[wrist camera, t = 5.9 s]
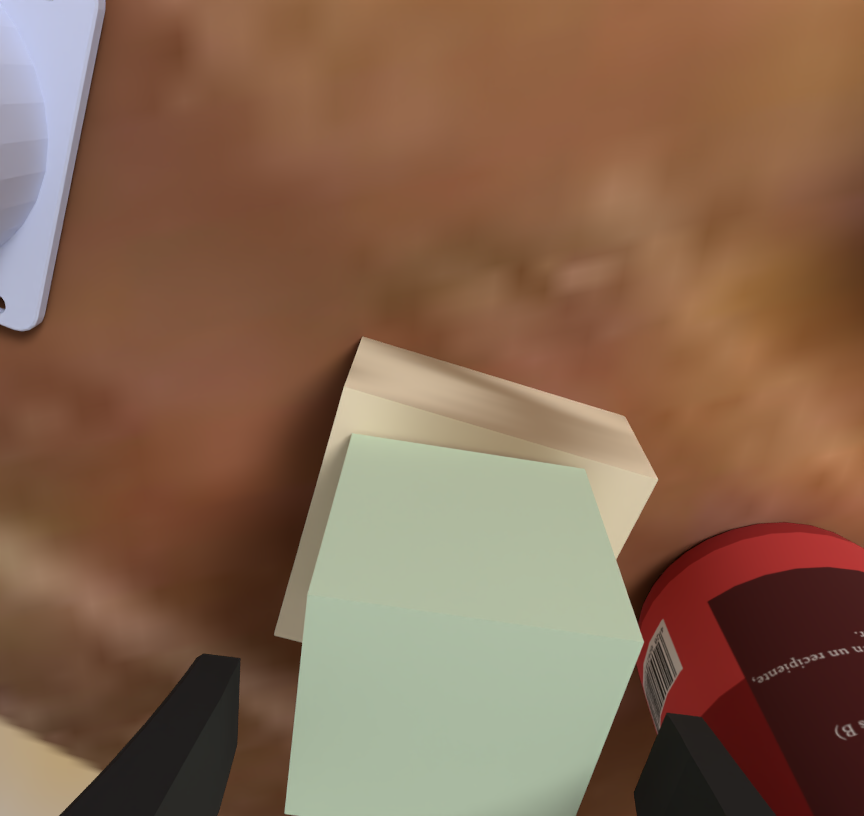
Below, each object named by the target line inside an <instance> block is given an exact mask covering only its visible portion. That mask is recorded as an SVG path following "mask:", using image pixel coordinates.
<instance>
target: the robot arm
mask: <svg viewBox="0 0 864 816" xmlns="http://www.w3.org/2000/svg"><path fill="white" fill-rule="evenodd" d="M104 14H105V0H0V296H1V297H2V299H3V300H4V302H5V306H6V309H2V308H0V325H2V326H5V327H8V328H10V329H13V330H17V331H27V330H30V329H32V328H34V327H36V326H37V325H38V324H40V323H41V322H42V320H43V318H44V316H45V311H46V306H47V301H48V296H49V291H50V286H51V281H52V276H53V271H54V266H55V261H56V256H57V251H58V246H59V241H60V236H61V231H62V226H63V221H64V216H65V211H66V206H67V200H68V195H69V190H70V185H71V180H72V175H73V170H74V165H75V160H76V155H77V150H78V145H79V140H80V135H81V130H82V125H83V120H84V115H85V110H86V105H87V100H88V95H89V90H90V85H91V80H92V75H93V70H94V65H95V60H96V55H97V50H98V44H99V39H100V34H101V29H102V24H103V19H104ZM239 683H240V658H234V657H226V656H218V655H210V654H202V655H201V656H199V657H197V658H196V660H195V661H194V662H193V664H192V665H191V666H190V668H189V669H188V671H187V672H186V673H185V675H184V676H183V677H182V678H181V680H180V681H179V682H178V684H177V685H176V686H175V687H174V689H173V690H172V691H171V693H170V694H169V695H168V696H167V698H166V699H165V700H164V701H163V702H162V704H161V705H160V706H159V707H158V708H157V710H156V711H155V712H154V713H153V714H152V716H151V717H150V718H149V719H148V720H147V722H146V723H145V724H144V725H143V726H142V727H141V729H140V730H139V731H138V732H137V733H136V734H135V735H134V737H133V738H132V739H131V740H130V741H129V742H128V743H127V744H126V746H125V747H124V748H123V749H122V750H121V751H120V752H119V753H118V755H117V756H116V757H115V758H114V759H113V760H112V761H111V762H110V764H109V765H108V766H107V767H106V768H105V769H104V770H103V771H102V772H101V773H100V774H99V775H98V776H97V777H96V778H95V779H94V780H93V782H92V783H91V784H90V785H89V786H88V787H87V788H86V789H85V790H84V791H83V792H82V793H81V794H80V795H79V796H78V797H77V798H76V799H75V800H74V801H73V802H72V803H71V804H70V805H69V806H68V807H67V808H66V809H65V811H63V812H62V814H60V815H59V816H217V815H218V812H219V809H220V806H221V802H222V798H223V795H224V791H225V788H226V784H227V780H228V777H229V773H230V769H231V766H232V762H233V758H234V754H235V751H236V747H237V736H238V709H239ZM634 798H635V805H636V812H637V816H776V814H775V813H774V812H773V811H772V809H771V808H770V807H769V805H768V804H767V803H766V801H765V800H764V799H763V798H762V796H761V795H760V794H759V792H758V791H757V790H756V788H755V787H754V786H753V784H752V783H751V782H750V780H749V779H748V778H747V776H746V775H745V774H744V772H743V771H742V770H741V768H740V767H739V766H738V764H737V763H736V762H735V760H734V759H733V758H732V756H731V755H730V754H729V752H728V751H727V750H726V748H725V747H724V746H723V744H722V743H721V742H720V740H719V739H718V738H717V736H716V735H715V734H714V732H713V731H712V730H711V728H710V727H709V726H708V724H707V723H706V722H705V721H704V719H703V718H702V717H698V716H690V715H683V714H675V713H666V715H665V717H664V720H663V722H662V725H661V727H660V730H659V732H658V735H657V737H656V739H655V742H654V744H653V747H652V749H651V752H650V754H649V757H648V759H647V762H646V764H645V766H644V769H643V771H642V774H641V776H640V779H639V781H638V784H637V786H636V788H635V791H634Z"/></svg>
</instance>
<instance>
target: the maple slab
mask: <svg viewBox="0 0 864 816" xmlns="http://www.w3.org/2000/svg"><path fill="white" fill-rule="evenodd" d="M352 433H354V434H361V435H367V436H374V437H381V438H387V439H394V440H400V441H407V442H413V443H420V444H426V445H433V446H439V447H446V448H452V449H459V450H465V451H472V452H478V453H485V454H491V455H498V456H504V457H511V458H517V459H524V460H530V461H537V462H544V463H550V464H557V465H563V466H570V467H576V468H583V469H585V471H586V474H587V477H588V479H589V482H590V485H591V488H592V491H593V494H594V497H595V500H596V503H597V506H598V509H599V512H600V515H601V518H602V520H603V523H604V526H605V529H606V532H607V535H608V538H609V541H610V544H611V547H612V550H613V553H614V556H615V559H617V557H618V555H619V553H620V551H621V549H622V547H623V545H624V543H625V542H626V540H627V538H628V536H629V534H630V532H631V530H632V528H633V526H634V525H635V523H636V521H637V519H638V517H639V515H640V513H641V511H642V509H643V508H644V506H645V504H646V502H647V500H648V498H649V496H650V494H651V492H652V490H653V489H654V487H655V485H656V483H657V481H658V478H657V476H656V474H655V473H654V471H653V469H652V467H651V465H650V463H649V461H648V459H647V457H646V455H645V454H644V452H643V450H642V448H641V446H640V444H639V442H638V440H637V438H636V437H635V435H634V433H633V431H632V429H631V427H630V425H629V423H628V421H627V420H626V418H625V416H622V415H619V414H615V413H612V412H609V411H606V410H602V409H599V408H596V407H592V406H589V405H586V404H583V403H579V402H576V401H573V400H569V399H566V398H563V397H560V396H556V395H553V394H550V393H546V392H543V391H540V390H537V389H533V388H530V387H527V386H523V385H520V384H517V383H514V382H510V381H507V380H504V379H500V378H497V377H494V376H491V375H487V374H484V373H481V372H477V371H474V370H471V369H468V368H464V367H461V366H458V365H455V364H451V363H448V362H445V361H441V360H438V359H435V358H432V357H428V356H425V355H422V354H418V353H415V352H412V351H409V350H405V349H402V348H399V347H395V346H392V345H389V344H386V343H382V342H379V341H376V340H372V339H369V338H366V337H363V336H362V339H361V342H360V344H359V347H358V350H357V353H356V355H355V358H354V361H353V363H352V366H351V369H350V372H349V374H348V377H347V380H346V382H345V385H344V388H343V392H342V395H341V399H340V402H339V406H338V410H337V413H336V417H335V420H334V424H333V427H332V431H331V434H330V438H329V441H328V445H327V448H326V452H325V455H324V459H323V463H322V466H321V470H320V473H319V477H318V480H317V484H316V487H315V491H314V494H313V498H312V501H311V505H310V508H309V512H308V516H307V519H306V523H305V526H304V530H303V533H302V537H301V540H300V544H299V547H298V551H297V554H296V558H295V562H294V565H293V569H292V572H291V576H290V579H289V583H288V586H287V590H286V593H285V597H284V600H283V604H282V607H281V611H280V615H279V618H278V622H277V625H276V629H275V632H274V636H278V637H282V638H286V639H290V640H294V641H298V642H302V641H303V632H304V622H305V613H306V603H307V594H308V591H309V587H310V583H311V580H312V576H313V573H314V569H315V565H316V562H317V558H318V555H319V551H320V547H321V544H322V540H323V537H324V533H325V529H326V526H327V522H328V519H329V515H330V511H331V508H332V504H333V501H334V497H335V493H336V490H337V486H338V483H339V479H340V475H341V472H342V468H343V465H344V461H345V457H346V454H347V450H348V447H349V443H350V439H351V436H352Z"/></svg>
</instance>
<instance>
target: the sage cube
mask: <svg viewBox="0 0 864 816" xmlns="http://www.w3.org/2000/svg"><path fill="white" fill-rule="evenodd" d="M643 644H644V641H643V638H642V635H641V632H640V629H639V626H638V623H637V620H636V617H635V614H634V611H633V608H632V605H631V603H630V600H629V597H628V594H627V591H626V588H625V585H624V582H623V579H622V576H621V573H620V570H619V567H618V564H617V562H616V559H615V556H614V553H613V550H612V547H611V544H610V541H609V538H608V535H607V532H606V529H605V526H604V523H603V520H602V518H601V515H600V512H599V509H598V506H597V503H596V500H595V497H594V494H593V491H592V488H591V485H590V482H589V479H588V477H587V474H586V471H585V469H583V468H576V467H570V466H563V465H557V464H550V463H544V462H537V461H530V460H524V459H517V458H511V457H504V456H498V455H491V454H485V453H478V452H472V451H465V450H459V449H452V448H446V447H439V446H433V445H426V444H420V443H413V442H407V441H400V440H394V439H387V438H381V437H374V436H367V435H361V434H354V433H352V436H351V439H350V443H349V447H348V450H347V454H346V457H345V461H344V465H343V468H342V472H341V475H340V479H339V483H338V486H337V490H336V493H335V497H334V501H333V504H332V508H331V511H330V515H329V519H328V522H327V526H326V529H325V533H324V537H323V540H322V544H321V547H320V551H319V555H318V558H317V562H316V565H315V569H314V573H313V576H312V580H311V583H310V587H309V591H308V594H307V603H306V613H305V622H304V632H303V641H302V651H301V661H300V670H299V680H298V689H297V699H296V708H295V718H294V727H293V737H292V747H291V756H290V766H289V775H288V785H287V794H286V804H285V813H284V814H290V815H298V816H576V814H577V811H578V809H579V806H580V804H581V801H582V799H583V796H584V794H585V791H586V789H587V786H588V783H589V781H590V778H591V776H592V773H593V771H594V768H595V766H596V763H597V761H598V758H599V756H600V753H601V750H602V748H603V745H604V743H605V740H606V738H607V735H608V733H609V730H610V728H611V725H612V723H613V720H614V717H615V715H616V712H617V710H618V707H619V705H620V702H621V700H622V697H623V695H624V692H625V690H626V687H627V684H628V682H629V679H630V677H631V674H632V672H633V669H634V667H635V664H636V662H637V659H638V656H639V654H640V651H641V649H642V646H643Z"/></svg>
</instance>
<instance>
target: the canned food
mask: <svg viewBox="0 0 864 816" xmlns="http://www.w3.org/2000/svg"><path fill="white" fill-rule="evenodd" d="M638 626H639V629H640V632H641V635H642V638H643V641H644V644H643V646H642V649H641V651H640V654H639V656H638V659H637V662H636V665H637V669H638V673H639V677H640V681H641V685H642V688H643V691H644V694H645V697H646V701H647V704H648V707H649V710H650V713H651V717H652V720H653V723H654V726H655V729H656V733H657V735H658V732H659V730H660V727H661V725H662V722H663V720H664V717H665V715H666V713H675V714H683V715H690V716H698V717H702V718H703V719H704V721H705V722H706V723H707V724H708V726H709V727H710V728H711V730H712V731H713V732H714V734H715V735H716V736H717V738H718V739H719V740H720V742H721V743H722V744H723V746H724V747H725V748H726V750H727V751H728V752H729V754H730V755H731V756H732V758H733V759H734V760H735V762H736V763H737V764H738V766H739V767H740V768H741V770H742V771H743V772H744V774H745V775H746V776H747V778H748V779H749V780H750V782H751V783H752V784H753V786H754V787H755V788H756V790H757V791H758V792H759V794H760V795H761V796H762V798H763V799H764V800H765V801H766V803H767V804H768V805H769V807H770V808H771V809H772V811H773V812H774V813H775V814H776V816H864V548H862V547H860V546H858V545H856V544H855V543H853V542H851V541H849V540H847V539H845V538H843V537H841V536H840V535H838V534H836V533H834V532H831V531H827V530H824V529H821V528H818V527H815V526H811V525H804V524H795V523H787V522H783V523H764V524H756V525H751V526H746V527H742V528H737V529H733V530H730V531H728V532H725V533H722V534H720V535H717V536H715V537H712V538H710V539H707V540H706V541H704V542H702V543H701V544H699V545H697V546H696V547H694V548H692V549H691V550H689V551H687V552H686V553H684V554H683V555H682V556H681V557H680V558H679V559H677V560H676V561H675V562H674V563H673V564H671V565H670V566H669V567H668V568H667V569H666V570H665V571H664V573H663V574H662V575H661V576H660V578H659V579H658V580H657V581H656V582H655V584H654V585H653V586H652V588H651V590H650V592H649V594H648V596H647V598H646V600H645V602H644V604H643V606H642V610H641V614H640V618H639V621H638Z"/></svg>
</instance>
